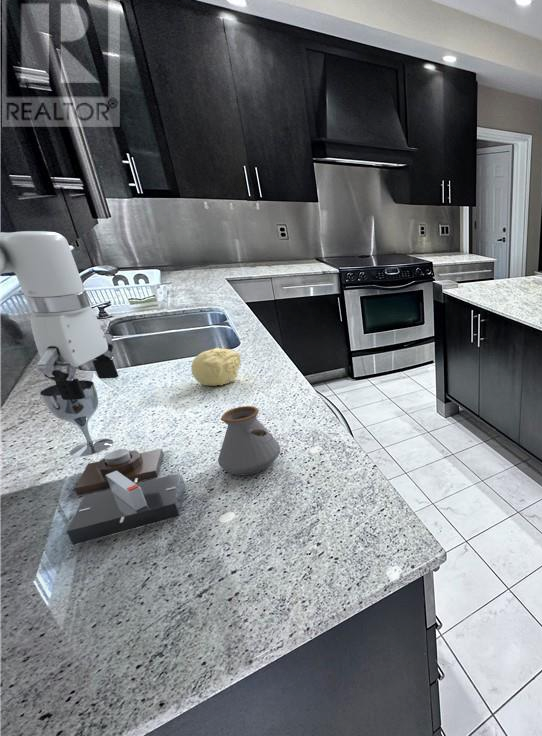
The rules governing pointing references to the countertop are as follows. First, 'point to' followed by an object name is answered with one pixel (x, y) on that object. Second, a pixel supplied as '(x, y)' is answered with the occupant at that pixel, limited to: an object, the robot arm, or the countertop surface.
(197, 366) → the pale yellow lumpy ball
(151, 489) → the dark grey flat block
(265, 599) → the countertop surface
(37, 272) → the robot arm
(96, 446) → the wine glass
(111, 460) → the button
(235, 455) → the coffee pot
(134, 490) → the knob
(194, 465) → the countertop surface
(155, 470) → the switch block
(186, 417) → the countertop surface
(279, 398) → the countertop surface
